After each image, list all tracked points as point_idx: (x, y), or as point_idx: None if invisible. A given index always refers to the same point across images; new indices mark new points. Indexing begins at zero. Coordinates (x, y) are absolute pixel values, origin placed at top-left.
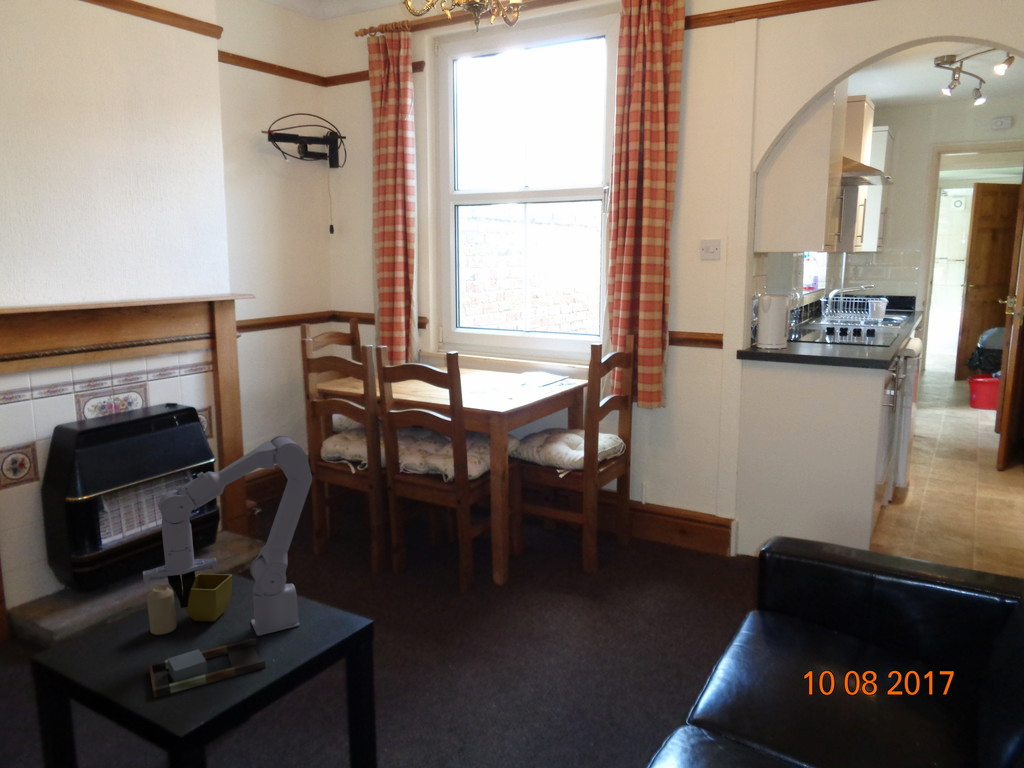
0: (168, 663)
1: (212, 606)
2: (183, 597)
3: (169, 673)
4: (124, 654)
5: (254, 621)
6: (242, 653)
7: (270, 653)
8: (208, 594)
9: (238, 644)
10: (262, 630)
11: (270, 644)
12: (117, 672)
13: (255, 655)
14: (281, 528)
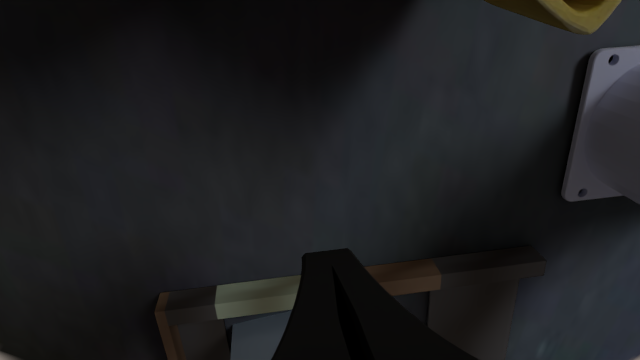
0: (231, 357)
1: (486, 1)
2: (339, 306)
3: (233, 326)
4: (4, 116)
5: (602, 77)
6: (474, 295)
7: (547, 314)
8: (520, 3)
9: (481, 283)
10: (593, 179)
11: (571, 263)
12: (26, 261)
13: (505, 320)
14: None
